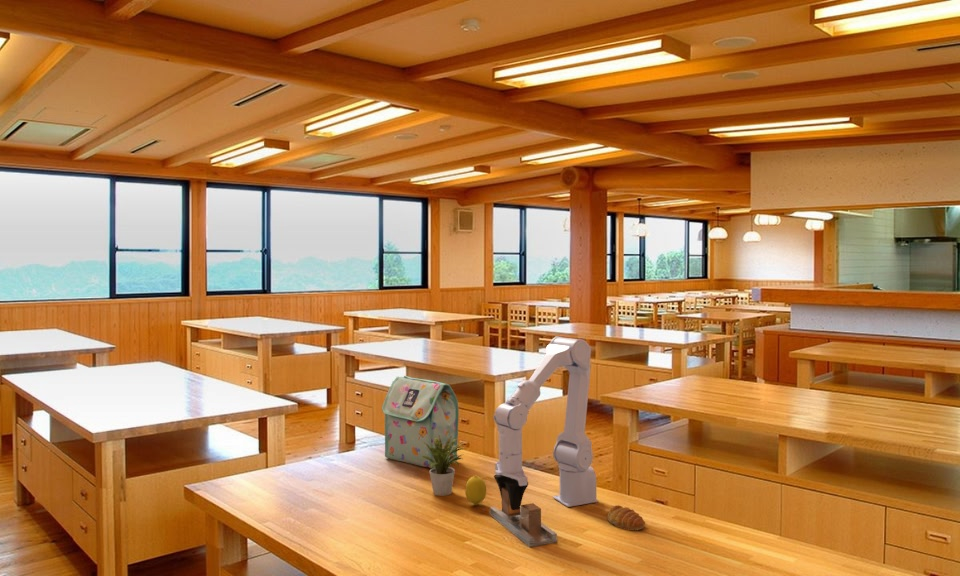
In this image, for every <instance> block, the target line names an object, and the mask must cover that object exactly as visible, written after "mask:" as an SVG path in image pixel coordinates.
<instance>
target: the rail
mask: <svg viewBox="0 0 960 576" xmlns="http://www.w3.org/2000/svg"><path fill="white" fill-rule="evenodd" d="M489 516H490V517H492V518H493V519H494V520H496V521H497V522H498V523H499V524H501V525H502V526H503V527H504V528H505V529H507V530H508V531H509V532H510V533H511V534H513V536H515V537H516V538H517V539H519V540H520V541H521V542H523V543H524V544H525V545H526V546H528V548H533V547H534V548H535V547H539V546H542V545H543V546H544V545H549V544H554V543H557V542H558V541H557V540H558V538H557V537H558V536H557V535H558V533H556V532H555V531H554V530H552V529H551V528H550V527H548V526H547V525H546V524H545V523H542V508H541V507H539V506H538V505H536V504H535V503H533V502H531V503H527V504H521V506H520V515H515V516H510V517H508V516H507V515H506V514H505V513H503V512H502V509H500V510H499V509H498V508H497V507H496V506H490V507H489Z"/></svg>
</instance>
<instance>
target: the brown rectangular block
mask: <svg viewBox="0 0 960 576" xmlns="http://www.w3.org/2000/svg"><path fill="white" fill-rule="evenodd" d="M501 510H502V512H503V513H505V514H506V515H507V516H508V517H510V516H515V515H520V509H517V510H512V509H511V506H510V499H509V493H508V490H507V487H504V488H502V498H501Z"/></svg>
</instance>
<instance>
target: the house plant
mask: <svg viewBox="0 0 960 576" xmlns="http://www.w3.org/2000/svg"><path fill="white" fill-rule="evenodd" d="M451 437H452V435H451V436H450V438H449V439H448V441H447V443H446V444H445V446H444V449H442V442H441V439H440V436H439V441H438V439H437V437H435V443H434V444H435V448H433V447H430V446H429V445H428V444H427V443H425V442H424V443H425V444H426V445H427V447H428V448H429V450H430V451H431V452H432V454H433V455H432V456H433V457H434V459H435V461H436V463H435V462H434V461H433V460H432V459H431V458H429V457H427V456H421V458H425V459H428V460H430V461H431V466H430V467H429V468H430V470H429V477H430V483H431V487H432V492H433V495H435V496H441V497H442V496H450V495H451V494H452V492H453V486H454V477H455V473H456V470H455V468H453V467H451V466H452V464H453V463H454V464H456V465H457V466H458V467H459V466H460V465H459V462H458V460H463V457H462V456H463V454H460V455H458V454H457V455H453V456H450V455H452V454H453V453H454V452H456V451H457V452H458V451H461V450H464V449H465V450H466V449H467V447H462V445H464V444H468V443H469V442H462V443H459V444H457V446H454V448H453V449H452V450H451V448H452V447H453V445H454V442H455V441H456V440H457V438H456V439H454V440H453V441H452V442H451V443H450V440H451ZM458 438H459V437H458ZM449 443H450V444H449ZM456 447H457V448H456ZM455 448H456V449H455ZM426 449H427V448H426ZM454 449H455V450H454ZM427 450H428V449H427ZM429 450H428V451H429ZM450 450H451V451H450ZM430 451H429V452H430ZM431 452H430V453H431ZM449 456H450V457H449ZM455 456H457V458H454V459H453V460H451V459H452V458H453V457H455ZM448 458H449V459H448ZM450 460H451V461H450ZM456 460H457V461H456ZM449 461H450V462H449ZM434 465H435V467H434ZM432 467H434V468H432Z"/></svg>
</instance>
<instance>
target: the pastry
mask: <svg viewBox="0 0 960 576" xmlns="http://www.w3.org/2000/svg"><path fill="white" fill-rule="evenodd" d="M606 518H607V520H608V521H609V523H610V524H611V525H612V524H613V525H614V527H617V526H618V528H620V529H624V528H625V529H624V530H627V529H629V530H628V531H636V530H637V531H639V530H642V529H644V527H645V525H646V521H645V520H644V519H643V517H642V516H641V515H640V514H639V513H637V512H636V511H635V510H634V509H631V508H629V507H626V506H625V507H623V506H621V505H614V506H613V507H612V508H611V509H609V512H608V513H607V516H606Z"/></svg>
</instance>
